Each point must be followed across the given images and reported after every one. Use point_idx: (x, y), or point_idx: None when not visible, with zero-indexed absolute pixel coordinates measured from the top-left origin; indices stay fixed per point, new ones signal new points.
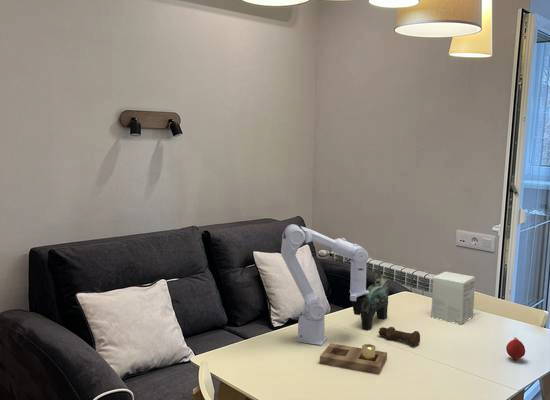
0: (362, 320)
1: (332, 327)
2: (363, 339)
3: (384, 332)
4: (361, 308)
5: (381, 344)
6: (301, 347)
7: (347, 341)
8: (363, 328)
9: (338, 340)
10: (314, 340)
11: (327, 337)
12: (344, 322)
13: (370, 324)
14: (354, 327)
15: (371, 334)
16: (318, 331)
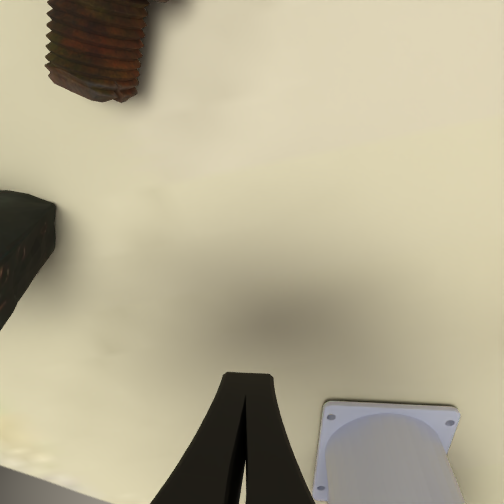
0: (25, 287)
1: (140, 407)
2: (256, 200)
3: (136, 28)
4: (235, 436)
5: (311, 24)
6: (497, 471)
7: (337, 292)
8: (53, 243)
9: (338, 343)
10: (446, 455)
11: (336, 404)
12: (16, 368)
13: (4, 208)
14: (59, 301)
15: (121, 162)
16: (460, 498)
